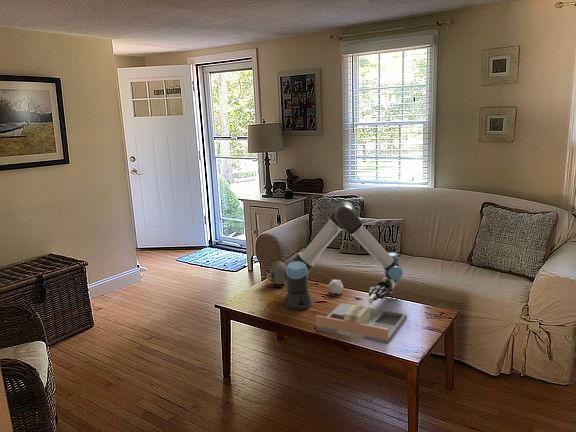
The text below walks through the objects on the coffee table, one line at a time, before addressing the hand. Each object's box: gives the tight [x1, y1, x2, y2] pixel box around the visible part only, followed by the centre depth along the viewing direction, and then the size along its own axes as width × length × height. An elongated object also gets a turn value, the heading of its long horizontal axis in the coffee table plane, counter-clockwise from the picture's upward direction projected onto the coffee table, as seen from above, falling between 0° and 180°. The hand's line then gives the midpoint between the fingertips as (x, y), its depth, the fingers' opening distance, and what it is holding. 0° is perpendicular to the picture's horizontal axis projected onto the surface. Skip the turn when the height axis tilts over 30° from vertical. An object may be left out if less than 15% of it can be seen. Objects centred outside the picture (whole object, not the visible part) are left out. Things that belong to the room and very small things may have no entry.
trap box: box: [315, 302, 408, 345], centre depth 228 cm, size 36×30×7 cm
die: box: [327, 279, 344, 295], centre depth 269 cm, size 8×9×10 cm
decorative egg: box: [269, 260, 287, 286], centre depth 288 cm, size 12×12×15 cm
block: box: [344, 304, 370, 324], centre depth 221 cm, size 8×12×8 cm, turn 150°
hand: (370, 300), depth 235 cm, fingers closed
